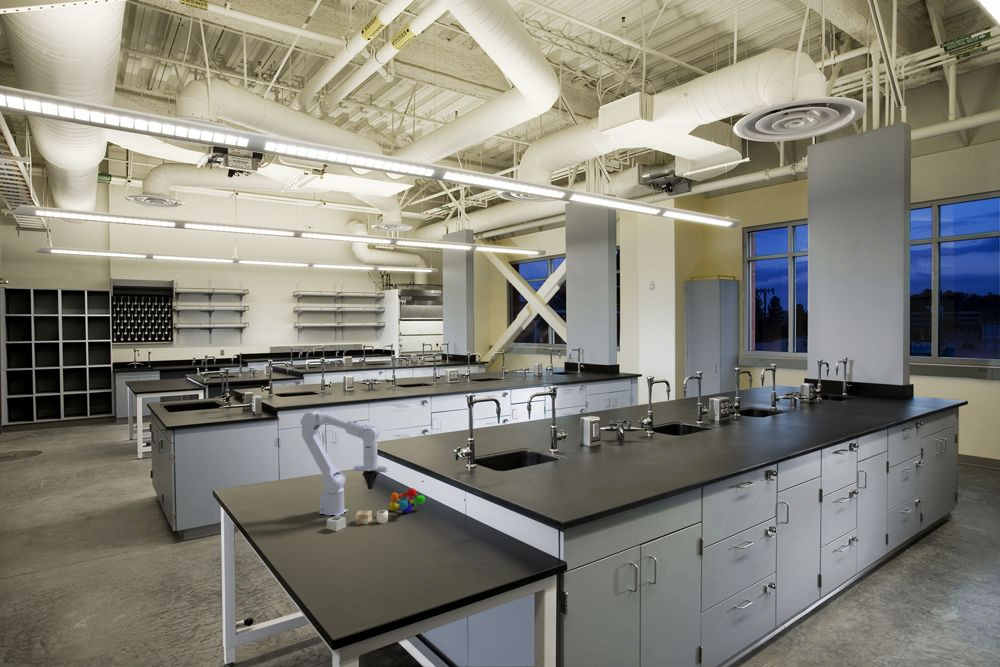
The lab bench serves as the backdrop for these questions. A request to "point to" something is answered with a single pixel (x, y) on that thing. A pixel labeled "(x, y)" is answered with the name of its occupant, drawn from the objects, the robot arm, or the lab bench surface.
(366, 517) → the beech block
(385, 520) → the offwhite stopper
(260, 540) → the lab bench surface
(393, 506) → the molecular model
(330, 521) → the grey labelled block
